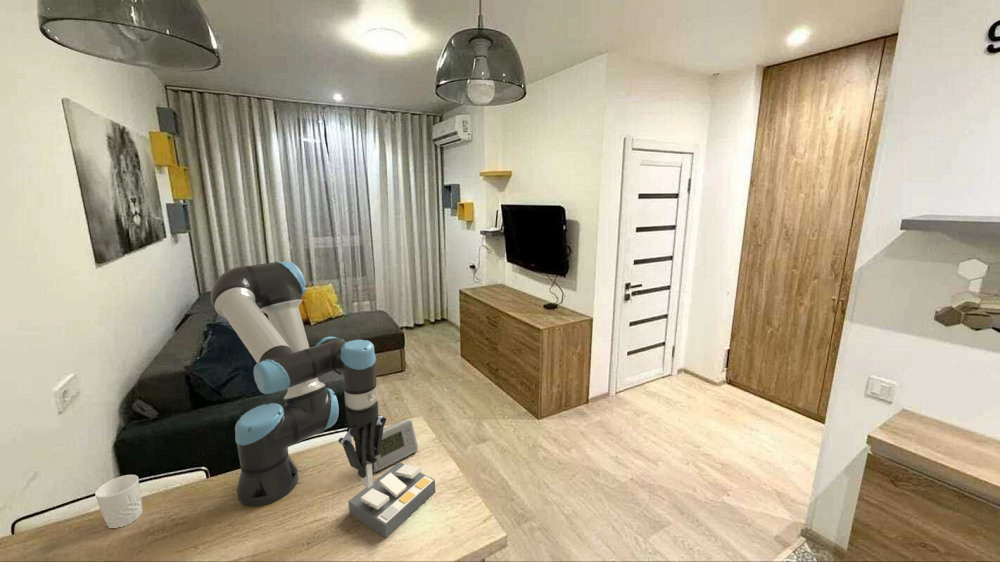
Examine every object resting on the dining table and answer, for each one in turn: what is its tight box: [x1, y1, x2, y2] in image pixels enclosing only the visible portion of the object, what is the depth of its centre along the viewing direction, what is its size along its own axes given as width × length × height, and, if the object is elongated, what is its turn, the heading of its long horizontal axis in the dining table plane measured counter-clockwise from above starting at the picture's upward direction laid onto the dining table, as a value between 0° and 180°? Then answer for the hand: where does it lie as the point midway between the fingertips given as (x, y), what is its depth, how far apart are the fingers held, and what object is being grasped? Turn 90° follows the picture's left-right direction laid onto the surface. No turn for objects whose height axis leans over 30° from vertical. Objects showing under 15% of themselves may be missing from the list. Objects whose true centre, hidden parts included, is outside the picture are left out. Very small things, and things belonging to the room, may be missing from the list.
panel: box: [347, 461, 436, 539], centre depth 105 cm, size 14×18×5 cm
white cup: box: [94, 474, 144, 529], centre depth 99 cm, size 8×8×10 cm
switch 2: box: [379, 472, 407, 497], centre depth 105 cm, size 6×4×2 cm, turn 58°
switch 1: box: [361, 488, 389, 510], centre depth 100 cm, size 6×4×2 cm, turn 58°
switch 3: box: [396, 464, 422, 479], centre depth 110 cm, size 6×4×2 cm, turn 58°
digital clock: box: [372, 417, 419, 473], centre depth 123 cm, size 16×9×11 cm, turn 122°
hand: (367, 484), depth 101 cm, fingers closed
